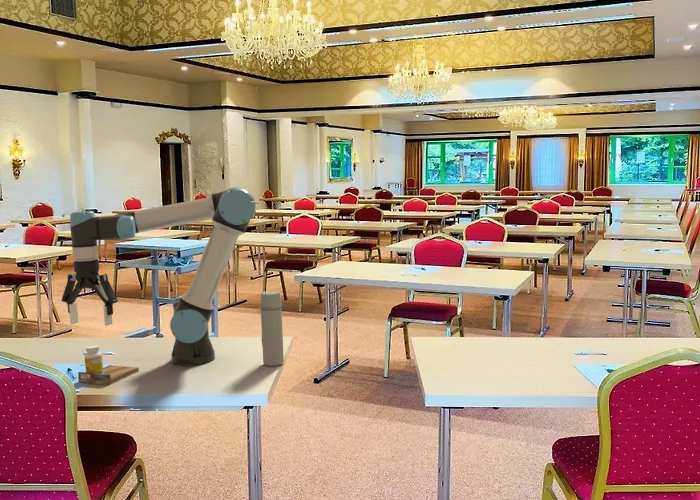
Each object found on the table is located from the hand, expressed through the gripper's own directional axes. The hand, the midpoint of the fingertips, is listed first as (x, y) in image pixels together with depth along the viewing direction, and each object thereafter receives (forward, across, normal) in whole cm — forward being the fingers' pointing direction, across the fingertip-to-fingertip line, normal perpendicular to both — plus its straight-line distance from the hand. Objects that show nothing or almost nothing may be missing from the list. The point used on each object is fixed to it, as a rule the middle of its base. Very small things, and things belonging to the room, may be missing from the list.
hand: (91, 324), depth 213 cm
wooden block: (+18, -3, -3) cm, 19 cm away
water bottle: (+19, -50, -29) cm, 61 cm away
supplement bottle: (+17, 0, 0) cm, 17 cm away
